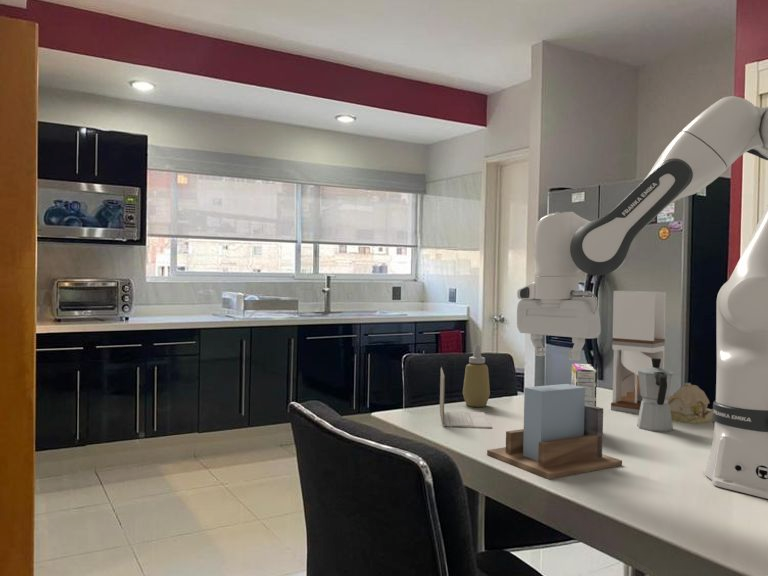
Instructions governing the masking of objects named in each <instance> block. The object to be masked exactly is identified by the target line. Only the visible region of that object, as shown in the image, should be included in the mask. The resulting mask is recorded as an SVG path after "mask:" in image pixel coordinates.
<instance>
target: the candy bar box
mask: <svg viewBox="0 0 768 576" xmlns="http://www.w3.org/2000/svg"><path fill="white" fill-rule="evenodd" d="M597 372H598V371H597V370H596V368H594V367H593V365H592V364H590V363H572V364H571V385H575V386H580V387H585V404H586V405H591V406H595V407H597V374H598V373H597Z"/></svg>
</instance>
